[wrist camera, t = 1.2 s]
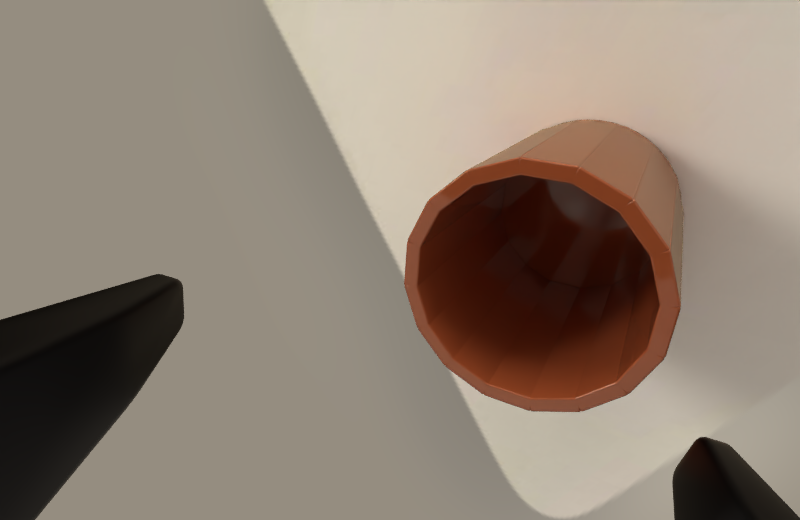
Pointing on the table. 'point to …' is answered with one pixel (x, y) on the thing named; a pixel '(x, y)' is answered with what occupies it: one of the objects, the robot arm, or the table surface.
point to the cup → (553, 267)
